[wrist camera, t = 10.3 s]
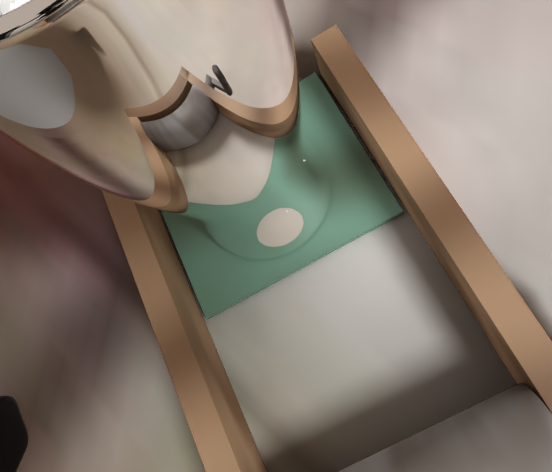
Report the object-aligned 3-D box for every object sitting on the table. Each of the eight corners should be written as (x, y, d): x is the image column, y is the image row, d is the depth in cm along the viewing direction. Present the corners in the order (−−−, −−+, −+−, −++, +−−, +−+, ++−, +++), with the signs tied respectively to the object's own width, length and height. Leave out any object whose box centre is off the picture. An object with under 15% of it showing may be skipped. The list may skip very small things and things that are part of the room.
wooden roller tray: (681, 468, 15) (769, 503, 11) (300, 637, 16) (274, 715, 13) (376, 40, 22) (371, -22, 18) (124, 188, 23) (75, 158, 20)
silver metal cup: (187, 271, 21) (-248, 95, 7) (199, 131, 23) (-131, -242, 8) (341, 269, 19) (185, 26, 5) (341, 117, 21) (223, -379, 7)
